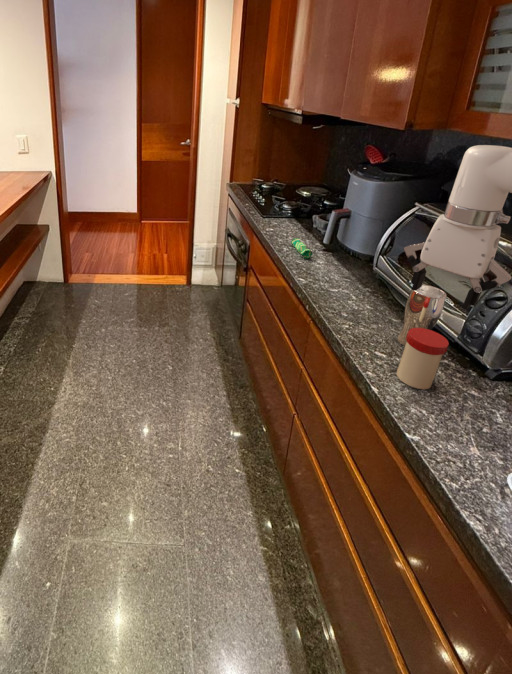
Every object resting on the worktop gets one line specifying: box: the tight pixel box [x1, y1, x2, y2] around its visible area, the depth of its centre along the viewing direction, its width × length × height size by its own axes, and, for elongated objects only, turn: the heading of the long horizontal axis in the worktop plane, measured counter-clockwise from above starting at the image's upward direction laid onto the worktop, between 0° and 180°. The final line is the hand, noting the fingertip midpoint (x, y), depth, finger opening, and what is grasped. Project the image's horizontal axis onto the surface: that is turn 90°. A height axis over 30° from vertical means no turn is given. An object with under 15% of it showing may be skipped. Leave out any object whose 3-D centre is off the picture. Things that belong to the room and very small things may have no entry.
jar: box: [396, 342, 444, 390], centre depth 83 cm, size 6×6×11 cm
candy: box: [290, 237, 313, 260], centre depth 148 cm, size 12×3×4 cm
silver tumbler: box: [396, 283, 447, 347], centre depth 94 cm, size 7×7×15 cm
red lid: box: [406, 328, 450, 356], centre depth 81 cm, size 7×7×2 cm
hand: (440, 296), depth 78 cm, fingers open, 8 cm apart
